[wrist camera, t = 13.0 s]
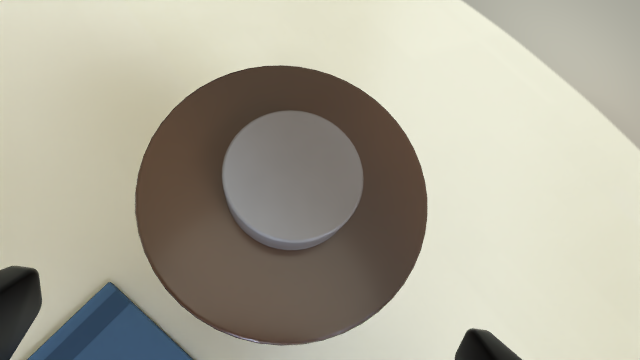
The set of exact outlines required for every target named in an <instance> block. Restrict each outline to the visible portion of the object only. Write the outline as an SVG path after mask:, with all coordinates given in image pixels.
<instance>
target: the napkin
mask: <svg viewBox="0 0 640 360" xmlns="http://www.w3.org/2000/svg"><path fill="white" fill-rule="evenodd" d="M27 360H193V359H192V358H191V357H190V356H189V355H188V354H187V353H186V352H185V351H184V350H183V349H181V348H180V347H179V346H178V345H177V344H176V343H175V342H174V341H173V340H172V339H171V338H170V337H169V336H168V335H167V334H166V333H164V332H163V331H162V330H161V329H160V328H159V327H158V326H157V325H156V324H155V323H154V322H153V321H152V320H151V319H150V318H148V317H147V316H146V315H145V314H144V313H143V312H142V311H141V310H140V309H139V308H138V307H137V306H136V305H135V304H134V303H133V302H131V301H130V300H129V299H128V298H127V297H126V296H125V295H124V294H123V293H122V292H121V291H120V290H119V289H118V288H117V287H116V286H114V285H113V284H112V283H111V282H108V283H107V284H106V285H105V286H104V287H103V288H102V289H101V290H100V291H99V292H98V293H97V294H96V295H95V296H94V297H93V298H91V299H90V300H89V301H88V302H87V303H86V304H85V305H84V306H83V307H82V308H81V309H80V310H79V311H78V312H77V313H76V314H75V315H74V316H73V317H71V318H70V319H69V320H68V321H67V322H66V323H65V324H64V325H63V326H62V327H61V328H60V329H59V330H58V331H57V332H56V333H55V334H54V335H52V336H51V337H50V338H49V339H48V340H47V341H46V342H45V343H44V344H43V345H42V346H41V347H40V348H39V349H38V350H37V351H36V352H35V353H34V354H32V355H31V356H30V357H29V358H28V359H27Z"/></svg>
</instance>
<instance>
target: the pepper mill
mask: <svg viewBox="0 0 640 360" xmlns="http://www.w3.org/2000/svg"><path fill="white" fill-rule="evenodd" d="M135 214H136V221H137V227H138V233H139V237H140V240H141V243H142V246H143V249H144V253H145V255H146V257H147V259H148V261H149V263H150V265H151V267H152V269H153V271H154V273H155V274H156V276H157V277H158V279H159V280H160V282H161V283H162V284H163V286H164V287H165V289H166V290H167V291H168V292H169V293H170V294H171V295H172V296H173V297H174V299H175V300H176V301H177V302H178V303H179V304H180V305H181V306H182V307H184V308H185V309H186V310H187V311H189V312H190V313H191V314H192V315H194V316H195V317H196V318H197V319H199V320H201V321H202V322H204V323H206V324H208V325H209V326H211V327H213V328H214V329H216V330H219V331H221V332H223V333H226V334H228V335H231V336H233V337H236V338H239V339H243V340H247V341H251V342H256V343H261V344H272V345H298V344H307V343H312V342H317V341H322V340H326V339H328V338H331V337H334V336H337V335H340V334H343V333H345V332H347V331H349V330H351V329H353V328H355V327H357V326H359V325H361V324H362V323H364V322H365V321H366V320H368V319H369V318H371V317H372V316H373V315H375V314H376V313H378V312H379V311H380V310H381V309H382V308H383V307H384V306H385V305H386V304H387V303H388V302H389V301H390V300H391V299H392V298H393V297H394V296H395V295H396V293H397V292H398V291H399V290H400V288H401V287H402V286H403V285H404V283H405V281H406V280H407V278H408V276H409V275H410V273H411V271H412V270H413V268H414V265H415V263H416V261H417V258H418V256H419V253H420V251H421V247H422V243H423V240H424V236H425V230H426V222H427V193H426V186H425V180H424V176H423V172H422V169H421V165H420V163H419V160H418V158H417V155H416V153H415V150H414V148H413V146H412V145H411V143H410V141H409V139H408V137H407V135H406V134H405V133H404V131H403V130H402V128H401V127H400V126H399V124H398V123H397V121H396V120H395V119H394V118H393V117H392V116H391V115H390V114H389V112H388V111H387V110H386V109H385V108H384V107H382V106H381V105H380V104H379V103H378V102H377V101H376V100H375V99H373V98H372V97H371V96H369V95H368V94H366V93H365V92H364V91H362V90H361V89H359V88H357V87H355V86H354V85H352V84H350V83H348V82H347V81H344V80H342V79H340V78H337V77H335V76H333V75H330V74H327V73H323V72H320V71H317V70H313V69H307V68H302V67H294V66H262V67H255V68H248V69H245V70H241V71H237V72H233V73H230V74H228V75H225V76H222V77H220V78H217V79H215V80H213V81H211V82H209V83H208V84H206V85H204V86H202V87H200V88H199V89H197V90H196V91H194V92H193V93H192V94H190V95H189V96H187V97H186V98H185V99H184V100H183V101H182V102H181V103H179V104H178V105H177V106H176V107H175V108H174V109H173V110H172V111H171V112H170V114H169V115H168V116H167V117H166V118H165V119H164V121H163V122H162V123H161V124H160V126H159V128H158V129H157V131H156V132H155V134H154V135H153V137H152V139H151V141H150V143H149V145H148V147H147V150H146V152H145V154H144V156H143V159H142V163H141V166H140V170H139V173H138V178H137V185H136V192H135Z"/></svg>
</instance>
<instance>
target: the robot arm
mask: <svg viewBox="0 0 640 360" xmlns="http://www.w3.org/2000/svg"><path fill="white" fill-rule="evenodd" d="M41 304H42V296H41V288H40V280H39V274H38V272H37V270H36V269H34V268H28V267H21V266H10V267H7V268H5V269H2V270H0V360H10V358H11V357H12V355H13V353H14V352H15V350H16V349H17V347H18V345H19V344H20V342H21V341H22V339H23V337H24V336H25V334H26V332H27V331H28V329H29V328H30V326H31V324H32V323H33V321H34V320H35V318H36V316H37V315H38V313H39V311H40V308H41ZM455 360H522V359H521V358H520V357H518V356H517V355H516V354H515V353H514V352H513V351H511V350H510V349H509V348H508V347H507V346H506V345H504V344H503V343H502V342H501V341H500V340H499V339H497V338H496V337H495V336H494V335H493V334H492V333H490V332H489V331H486V330H481V329H473V328H472V329H469V330H468V331H467V332H466V334H465V336H464V338H463V340H462V342H461V344H460V346H459V348H458V350H457V352H456V355H455Z"/></svg>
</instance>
